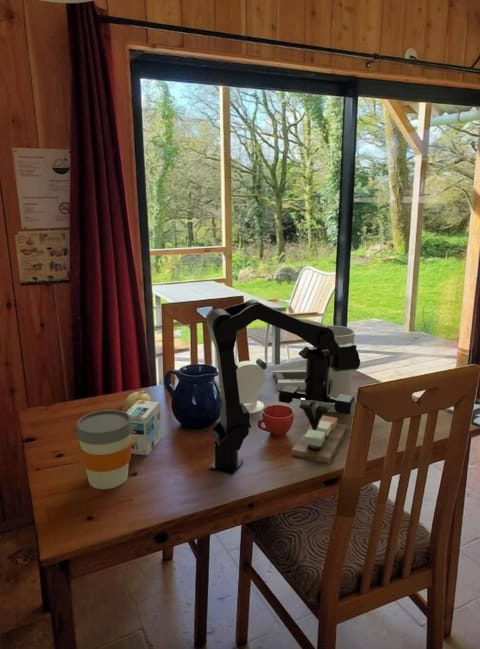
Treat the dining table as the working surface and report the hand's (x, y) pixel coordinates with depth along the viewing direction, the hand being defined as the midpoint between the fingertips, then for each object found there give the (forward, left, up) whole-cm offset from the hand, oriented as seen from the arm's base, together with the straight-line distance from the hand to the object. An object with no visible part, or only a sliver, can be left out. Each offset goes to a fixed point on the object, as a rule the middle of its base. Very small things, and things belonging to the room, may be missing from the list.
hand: (314, 429), depth 127 cm
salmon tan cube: (+13, 0, -6) cm, 14 cm away
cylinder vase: (+32, +4, -7) cm, 32 cm away
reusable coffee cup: (-32, +41, -7) cm, 53 cm away
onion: (+2, +57, -7) cm, 57 cm away
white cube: (+7, 0, -5) cm, 8 cm away
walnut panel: (+7, 0, -7) cm, 9 cm away
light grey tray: (+48, +20, -7) cm, 52 cm away
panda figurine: (+20, +28, -7) cm, 35 cm away
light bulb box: (-15, +43, -7) cm, 46 cm away
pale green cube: (0, 0, -5) cm, 5 cm away
